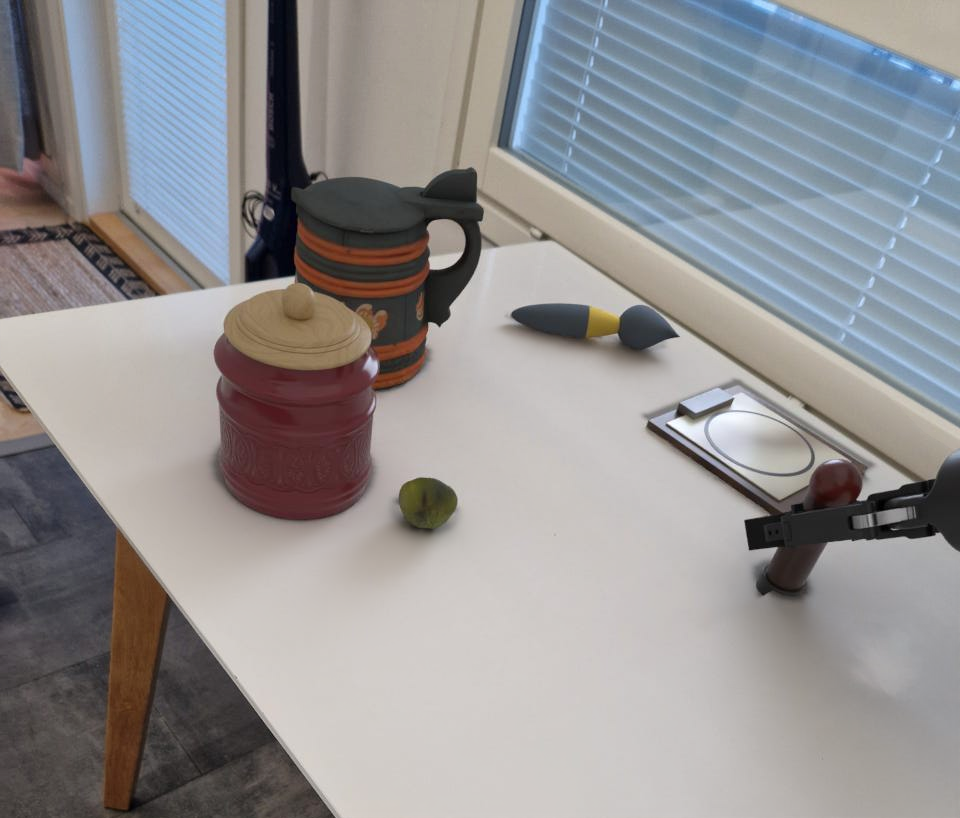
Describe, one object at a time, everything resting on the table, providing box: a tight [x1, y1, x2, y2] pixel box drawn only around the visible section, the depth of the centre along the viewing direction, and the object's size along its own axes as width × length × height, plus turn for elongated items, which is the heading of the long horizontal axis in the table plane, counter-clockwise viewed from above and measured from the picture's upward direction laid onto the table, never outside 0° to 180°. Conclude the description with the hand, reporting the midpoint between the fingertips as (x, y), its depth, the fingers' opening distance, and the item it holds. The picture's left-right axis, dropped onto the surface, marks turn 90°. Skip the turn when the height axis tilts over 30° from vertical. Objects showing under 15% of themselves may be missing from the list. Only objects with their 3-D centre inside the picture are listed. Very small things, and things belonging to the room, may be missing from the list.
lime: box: [398, 476, 459, 529], centre depth 76 cm, size 4×5×5 cm
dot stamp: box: [755, 459, 864, 597], centre depth 75 cm, size 4×4×14 cm
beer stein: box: [290, 166, 485, 390], centre depth 89 cm, size 19×15×20 cm
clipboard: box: [645, 384, 869, 515], centre depth 95 cm, size 18×16×2 cm
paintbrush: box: [510, 302, 681, 351], centre depth 105 cm, size 20×5×5 cm, turn 91°
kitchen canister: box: [213, 283, 380, 520], centre depth 74 cm, size 13×13×18 cm
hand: (767, 531), depth 79 cm, fingers closed on dot stamp, 3 cm apart
